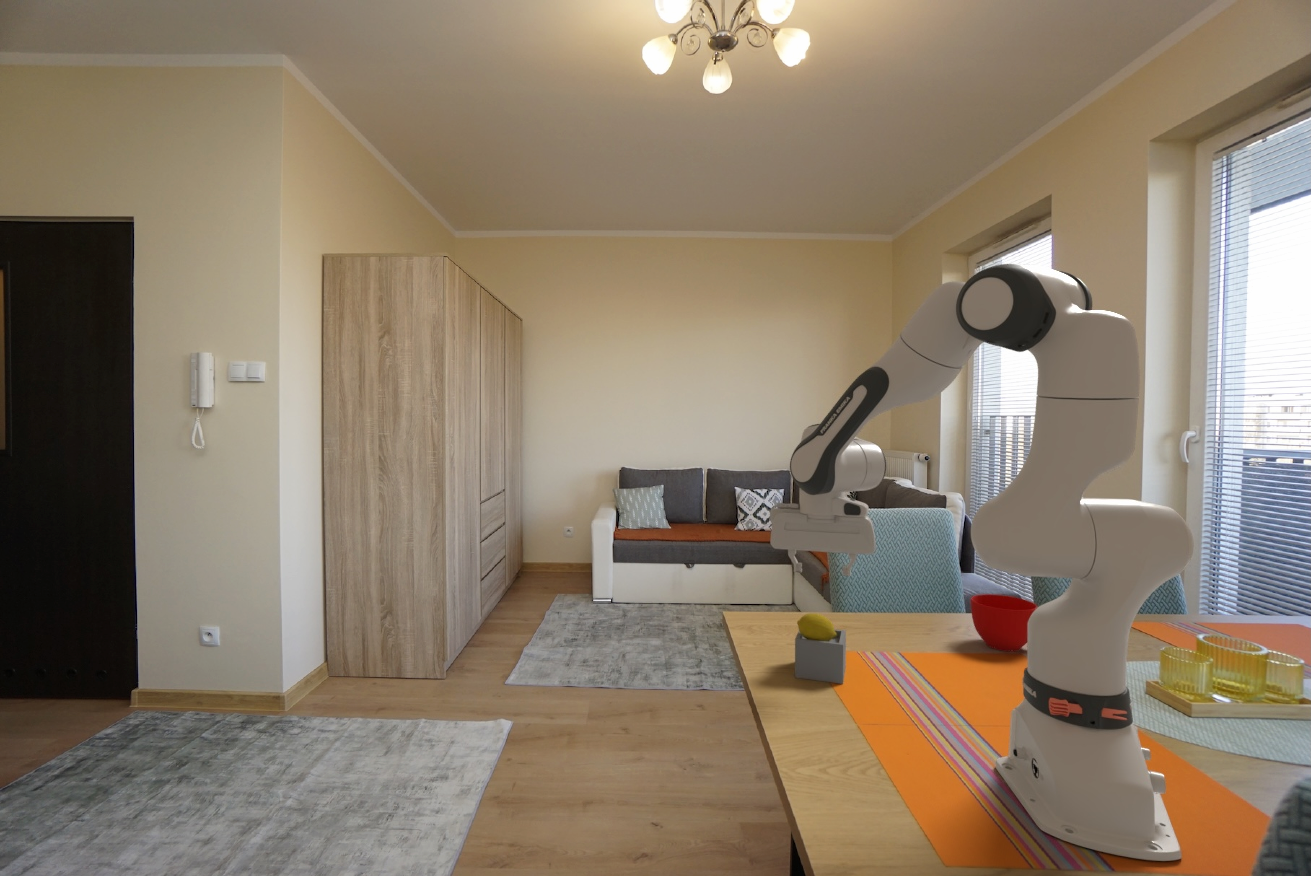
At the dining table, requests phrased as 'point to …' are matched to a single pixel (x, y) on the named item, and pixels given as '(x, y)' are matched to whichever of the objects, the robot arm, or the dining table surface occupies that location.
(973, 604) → the red bowl
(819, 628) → the lemon
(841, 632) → the grey open box
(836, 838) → the dining table surface
